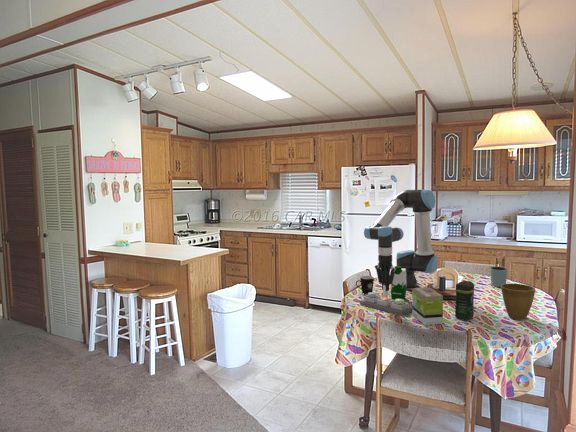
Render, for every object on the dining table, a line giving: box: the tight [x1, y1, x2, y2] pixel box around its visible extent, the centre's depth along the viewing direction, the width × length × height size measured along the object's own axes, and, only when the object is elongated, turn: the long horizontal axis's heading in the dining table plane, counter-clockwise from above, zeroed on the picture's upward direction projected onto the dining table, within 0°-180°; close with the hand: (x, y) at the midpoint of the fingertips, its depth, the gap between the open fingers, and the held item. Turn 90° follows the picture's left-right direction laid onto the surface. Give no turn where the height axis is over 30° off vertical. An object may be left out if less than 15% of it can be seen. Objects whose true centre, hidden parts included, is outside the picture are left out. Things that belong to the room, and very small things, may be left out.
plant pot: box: [500, 283, 536, 321], centre depth 199 cm, size 15×15×16 cm
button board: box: [359, 294, 412, 317], centre depth 220 cm, size 28×10×4 cm, turn 41°
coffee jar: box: [454, 280, 475, 321], centre depth 201 cm, size 10×8×19 cm
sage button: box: [394, 299, 405, 305], centre depth 213 cm, size 5×5×2 cm
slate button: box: [367, 291, 377, 298], centre depth 227 cm, size 5×5×2 cm
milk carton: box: [390, 265, 407, 301], centre depth 235 cm, size 9×9×20 cm
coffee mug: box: [355, 275, 375, 295], centre depth 250 cm, size 12×9×10 cm
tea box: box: [411, 287, 444, 326], centre depth 199 cm, size 15×10×15 cm, turn 5°
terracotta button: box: [381, 297, 391, 302], centre depth 220 cm, size 5×5×2 cm
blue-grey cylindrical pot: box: [489, 266, 508, 288], centre depth 257 cm, size 10×10×12 cm
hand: (385, 296), depth 220 cm, fingers closed
